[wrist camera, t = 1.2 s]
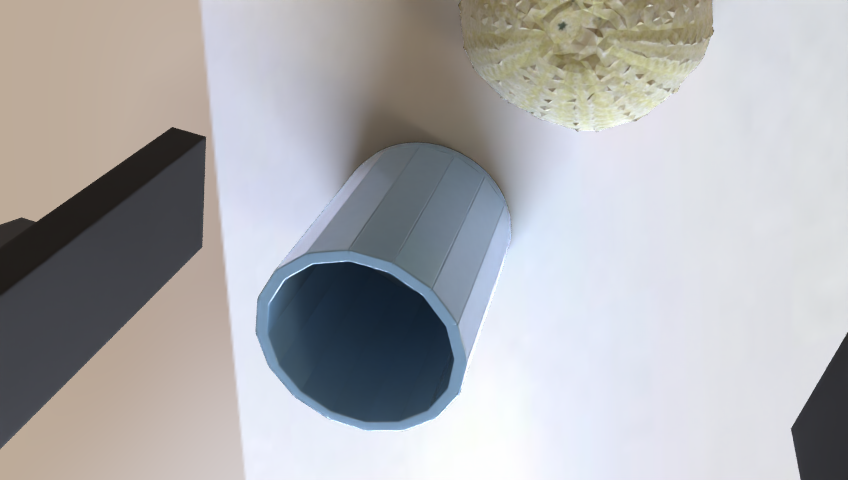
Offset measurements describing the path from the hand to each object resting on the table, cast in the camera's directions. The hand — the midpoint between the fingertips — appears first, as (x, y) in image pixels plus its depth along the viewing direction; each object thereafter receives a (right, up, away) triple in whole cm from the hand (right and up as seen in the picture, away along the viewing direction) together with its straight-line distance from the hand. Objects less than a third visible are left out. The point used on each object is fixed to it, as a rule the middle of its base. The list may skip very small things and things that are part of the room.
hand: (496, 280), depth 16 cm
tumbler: (-1, +2, +22) cm, 22 cm away
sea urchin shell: (+5, +10, +15) cm, 19 cm away
